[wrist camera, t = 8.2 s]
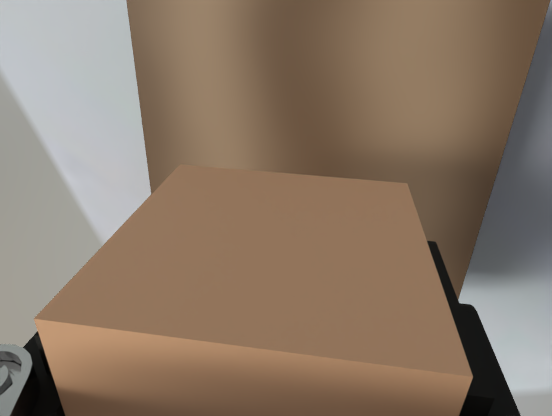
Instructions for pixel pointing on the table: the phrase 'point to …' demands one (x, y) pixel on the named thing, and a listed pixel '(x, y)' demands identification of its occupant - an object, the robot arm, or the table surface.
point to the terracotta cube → (259, 305)
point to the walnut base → (341, 95)
